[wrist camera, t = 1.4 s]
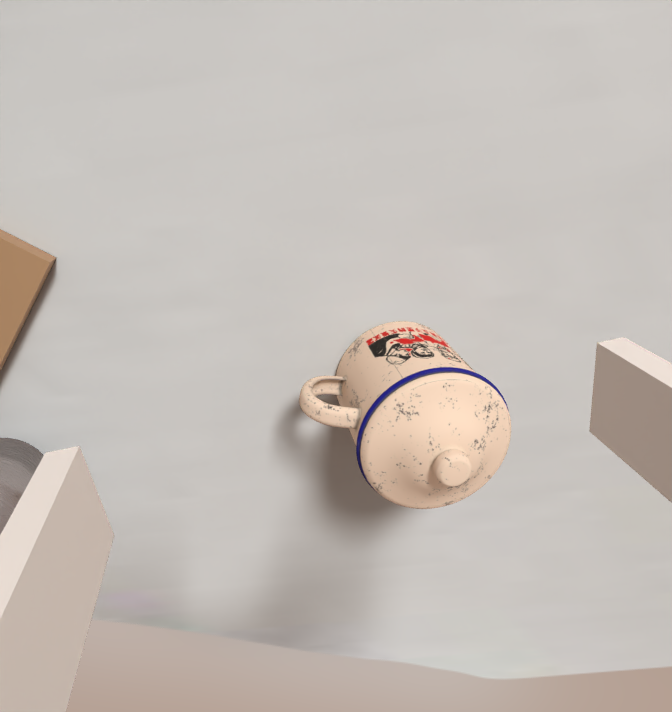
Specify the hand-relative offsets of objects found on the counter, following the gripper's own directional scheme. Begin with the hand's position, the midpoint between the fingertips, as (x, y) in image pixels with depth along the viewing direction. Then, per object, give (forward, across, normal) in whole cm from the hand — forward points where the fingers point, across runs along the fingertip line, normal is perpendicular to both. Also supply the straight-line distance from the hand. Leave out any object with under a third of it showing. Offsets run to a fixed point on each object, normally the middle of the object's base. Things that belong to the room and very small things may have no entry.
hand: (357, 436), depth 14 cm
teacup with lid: (+22, +5, -10) cm, 25 cm away
